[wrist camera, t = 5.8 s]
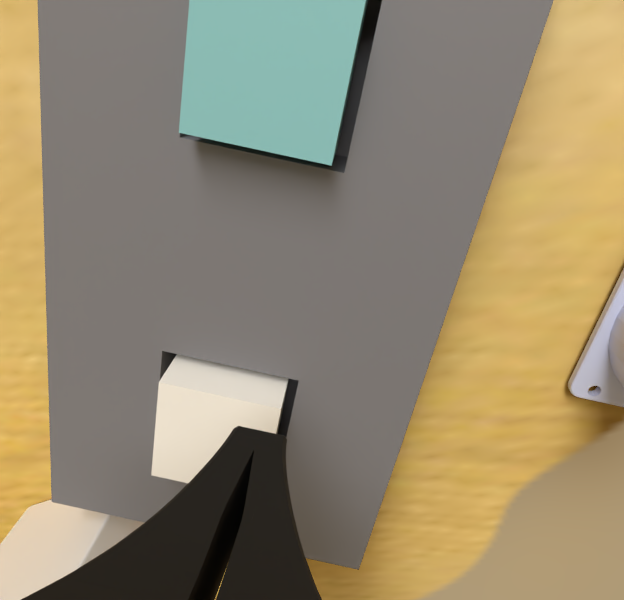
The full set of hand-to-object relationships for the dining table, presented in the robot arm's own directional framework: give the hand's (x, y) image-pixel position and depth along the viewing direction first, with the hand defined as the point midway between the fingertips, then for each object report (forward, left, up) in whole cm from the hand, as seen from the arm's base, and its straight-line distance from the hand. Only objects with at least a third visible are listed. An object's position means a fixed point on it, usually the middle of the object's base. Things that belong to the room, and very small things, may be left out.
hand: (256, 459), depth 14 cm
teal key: (+2, -9, -8) cm, 12 cm away
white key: (+2, +4, -8) cm, 9 cm away
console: (+2, -3, -10) cm, 10 cm away
